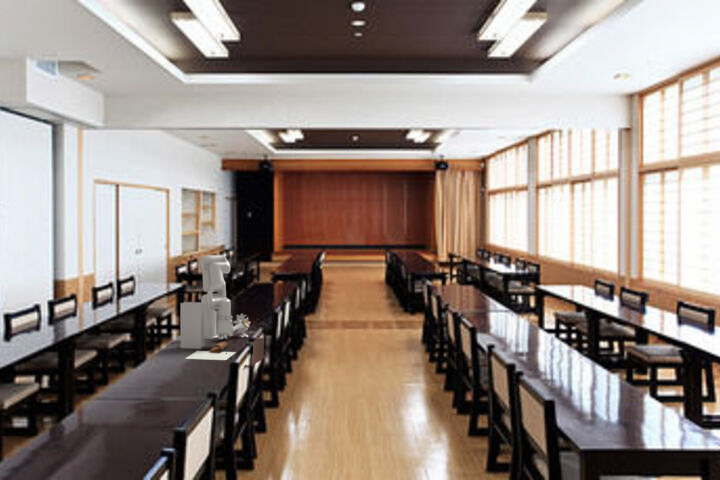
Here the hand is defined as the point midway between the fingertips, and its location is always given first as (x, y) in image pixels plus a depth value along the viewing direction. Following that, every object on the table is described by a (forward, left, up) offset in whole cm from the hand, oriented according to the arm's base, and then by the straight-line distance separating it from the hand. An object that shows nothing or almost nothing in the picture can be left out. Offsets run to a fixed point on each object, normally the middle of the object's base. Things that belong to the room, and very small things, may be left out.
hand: (224, 344), depth 378 cm
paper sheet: (+26, 0, -1) cm, 26 cm away
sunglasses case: (+11, 0, -1) cm, 11 cm away
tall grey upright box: (+7, -20, -1) cm, 21 cm away
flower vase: (-25, -1, -1) cm, 25 cm away
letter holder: (+37, +29, -2) cm, 47 cm away
